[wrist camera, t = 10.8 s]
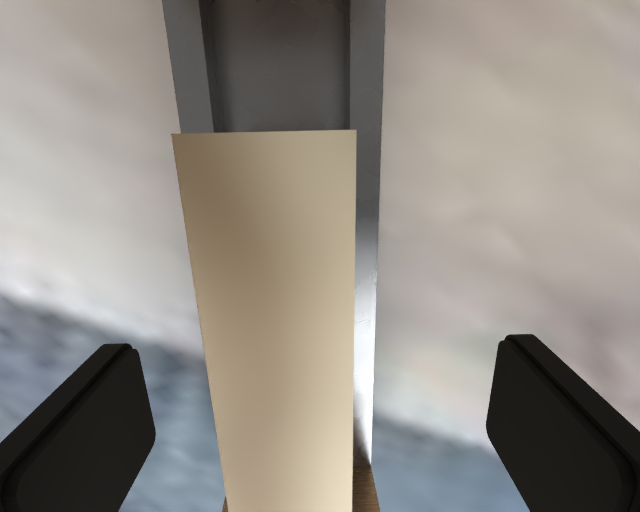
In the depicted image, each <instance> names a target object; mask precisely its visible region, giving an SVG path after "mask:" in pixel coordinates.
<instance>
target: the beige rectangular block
mask: <svg viewBox="0 0 640 512" xmlns="http://www.w3.org/2000/svg"><path fill="white" fill-rule="evenodd" d="M356 134H357V130H320V131H276V132H232V133H188V134H171V135H172V142H173V148H174V155H175V162H176V168H177V175H178V181H179V188H180V195H181V201H182V208H183V214H184V221H185V228H186V234H187V241H188V248H189V254H190V261H191V267H192V274H193V281H194V287H195V294H196V300H197V307H198V314H199V320H200V327H201V333H202V340H203V347H204V353H205V360H206V366H207V373H208V380H209V386H210V393H211V400H212V406H213V413H214V419H215V426H216V433H217V439H218V446H219V452H220V459H221V466H222V472H223V479H224V485H225V492H226V499H227V505H228V512H352V477H353V391H354V306H355V220H356Z"/></svg>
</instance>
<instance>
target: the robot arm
mask: <svg viewBox="0 0 640 512" xmlns="http://www.w3.org/2000/svg"><path fill="white" fill-rule="evenodd" d="M486 430H487V434H488V437H489V439H490V441H491V443H492V445H493V446H494V448H495V450H496V452H497V454H498V455H499V457H500V459H501V461H502V462H503V464H504V466H505V468H506V469H507V471H508V473H509V475H510V477H511V478H512V480H513V482H514V484H515V485H516V487H517V489H518V491H519V492H520V494H521V496H522V498H523V500H524V501H525V503H526V505H527V507H528V508H529V510H530V512H640V432H639V431H638V430H637V429H636V428H635V427H634V426H633V425H632V424H631V423H630V422H628V421H627V420H626V419H625V418H624V417H623V416H622V415H621V414H620V413H619V412H618V411H617V410H615V409H614V408H613V407H612V406H611V405H610V404H609V403H608V402H607V401H606V400H605V399H603V398H602V397H601V396H600V395H599V394H598V393H597V392H596V391H595V390H594V389H593V388H591V387H590V386H589V385H588V384H587V383H586V382H585V381H584V380H583V379H582V378H581V377H579V376H578V375H577V374H576V373H575V372H574V371H573V370H572V369H571V368H570V367H569V366H567V365H566V364H565V363H564V362H563V361H562V360H561V359H560V358H559V357H558V356H557V355H555V354H554V353H553V352H552V351H551V350H550V349H549V348H548V347H547V346H546V345H545V344H543V343H542V342H541V341H540V340H539V339H538V338H537V337H536V336H534V335H532V334H517V335H508V336H506V338H505V340H504V341H500V343H499V345H498V351H497V357H496V363H495V370H494V376H493V382H492V389H491V395H490V402H489V408H488V414H487V421H486ZM155 436H156V432H155V426H154V421H153V417H152V412H151V408H150V403H149V398H148V394H147V389H146V384H145V380H144V375H143V371H142V366H141V361H140V357H139V353H138V351H137V350H136V349H132V347H131V345H130V344H128V343H124V344H104V345H102V346H101V347H100V348H99V349H98V350H97V351H96V352H94V353H93V354H92V355H91V356H90V357H89V358H88V359H87V360H86V361H85V362H84V363H83V364H82V365H81V366H80V367H79V368H78V369H77V370H76V371H75V372H74V373H73V374H72V375H71V376H70V377H68V378H67V379H66V380H65V381H64V382H63V383H62V384H61V385H60V386H59V387H58V388H57V389H56V390H55V391H54V392H53V393H52V394H51V395H50V396H49V397H48V398H47V399H46V400H45V401H44V402H42V403H41V404H40V405H39V406H38V407H37V408H36V409H35V410H34V411H33V412H32V413H31V414H30V415H29V416H28V417H27V418H26V419H25V420H24V421H23V422H22V423H21V424H20V425H19V426H18V427H16V428H15V429H14V430H13V431H12V432H11V433H10V434H9V435H8V436H7V437H6V438H5V439H4V440H3V441H2V442H1V443H0V512H118V511H119V509H120V507H121V505H122V503H123V501H124V499H125V498H126V496H127V494H128V492H129V490H130V488H131V486H132V484H133V483H134V481H135V479H136V477H137V475H138V473H139V471H140V470H141V468H142V466H143V464H144V462H145V460H146V458H147V456H148V455H149V453H150V451H151V449H152V447H153V445H154V442H155Z"/></svg>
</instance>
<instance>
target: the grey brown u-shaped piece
mask: <svg viewBox="0 0 640 512" xmlns="http://www.w3.org/2000/svg"><path fill="white" fill-rule="evenodd" d="M385 2H386V0H162V3H163V10H164V17H165V24H166V31H167V38H168V45H169V52H170V59H171V66H172V73H173V80H174V87H175V94H176V100H177V107H178V114H179V121H180V128H181V134H188V133H232V132H276V131H320V130H357V134H356V220H355V306H354V391H353V477H352V512H380V508H379V503H378V498H377V493H376V489H375V484H374V479H373V474H372V469H371V441H372V410H373V378H374V347H375V316H376V284H377V253H378V222H379V190H380V159H381V127H382V96H383V65H384V33H385ZM222 512H228V505H227V499H226V496H225V501H224V505H223V510H222Z"/></svg>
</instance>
